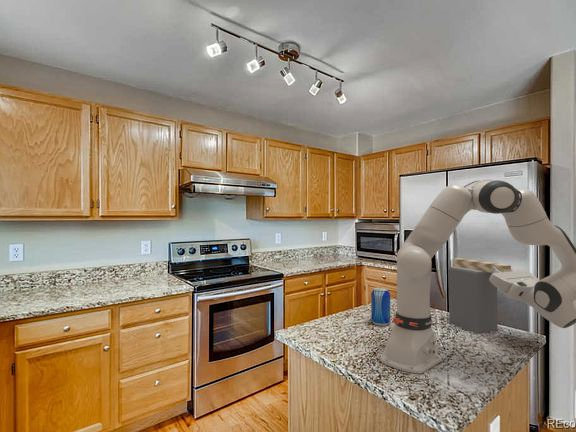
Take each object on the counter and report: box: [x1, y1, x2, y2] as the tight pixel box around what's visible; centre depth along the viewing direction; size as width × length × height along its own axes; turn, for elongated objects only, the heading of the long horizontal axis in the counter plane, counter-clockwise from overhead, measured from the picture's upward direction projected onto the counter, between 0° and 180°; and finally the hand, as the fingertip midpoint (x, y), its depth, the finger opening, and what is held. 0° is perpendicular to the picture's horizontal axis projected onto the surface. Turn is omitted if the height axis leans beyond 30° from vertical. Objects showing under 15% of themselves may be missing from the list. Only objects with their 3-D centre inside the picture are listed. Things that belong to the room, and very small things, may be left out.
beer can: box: [370, 286, 391, 327], centre depth 141 cm, size 8×8×16 cm
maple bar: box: [452, 257, 512, 273], centre depth 133 cm, size 24×4×4 cm, turn 20°
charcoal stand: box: [448, 266, 499, 335], centre depth 136 cm, size 14×12×26 cm
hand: (497, 267), depth 126 cm, fingers closed on maple bar, 4 cm apart
